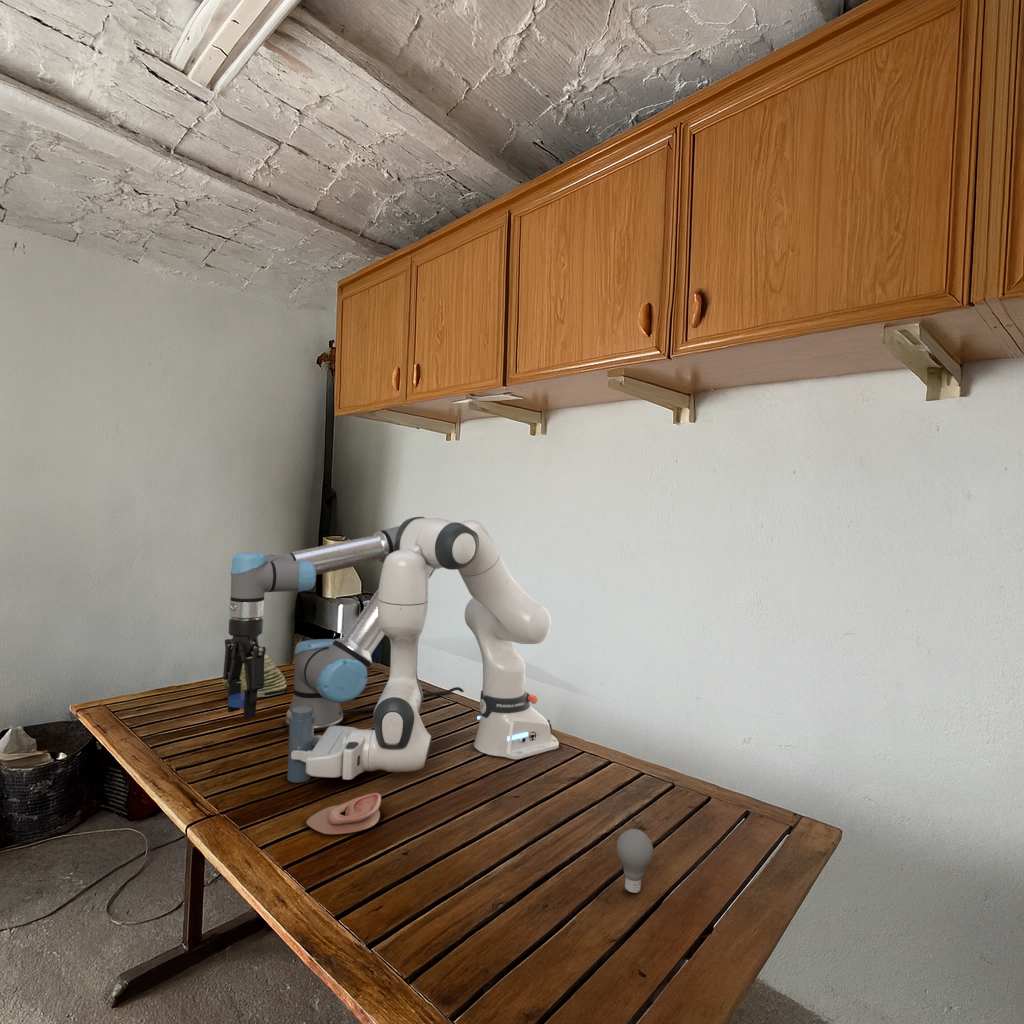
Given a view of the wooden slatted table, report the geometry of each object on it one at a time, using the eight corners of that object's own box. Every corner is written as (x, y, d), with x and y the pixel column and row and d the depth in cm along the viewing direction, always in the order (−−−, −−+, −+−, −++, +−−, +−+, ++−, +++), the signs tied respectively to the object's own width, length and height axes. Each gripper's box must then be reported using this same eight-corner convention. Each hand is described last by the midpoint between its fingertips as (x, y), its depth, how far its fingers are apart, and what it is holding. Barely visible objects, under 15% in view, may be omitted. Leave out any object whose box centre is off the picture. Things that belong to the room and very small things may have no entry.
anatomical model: (298, 809, 120) (327, 783, 131) (297, 830, 120) (327, 802, 131) (363, 819, 117) (388, 791, 128) (362, 840, 117) (387, 811, 128)
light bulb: (610, 879, 108) (613, 822, 108) (644, 879, 109) (647, 822, 109) (619, 902, 102) (622, 840, 102) (655, 901, 103) (658, 840, 103)
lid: (260, 701, 154) (260, 694, 154) (245, 709, 148) (245, 701, 148) (237, 698, 155) (238, 691, 155) (222, 706, 149) (222, 698, 149)
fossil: (218, 695, 195) (220, 647, 195) (278, 685, 208) (279, 640, 207) (228, 703, 189) (230, 653, 188) (289, 692, 201) (290, 645, 201)
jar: (294, 784, 139) (297, 715, 138) (282, 776, 142) (285, 709, 142) (316, 777, 143) (319, 709, 142) (304, 770, 146) (307, 703, 146)
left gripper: (209, 613, 154) (205, 708, 154) (254, 625, 143) (249, 728, 143) (238, 610, 160) (234, 701, 160) (283, 621, 149) (278, 720, 149)
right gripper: (368, 719, 153) (310, 718, 153) (349, 753, 133) (282, 751, 132) (367, 745, 153) (309, 744, 153) (348, 783, 133) (281, 781, 132)
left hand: (241, 713), depth 151 cm, fingers closed on lid, 6 cm apart
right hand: (296, 748), depth 142 cm, fingers closed on jar, 5 cm apart
